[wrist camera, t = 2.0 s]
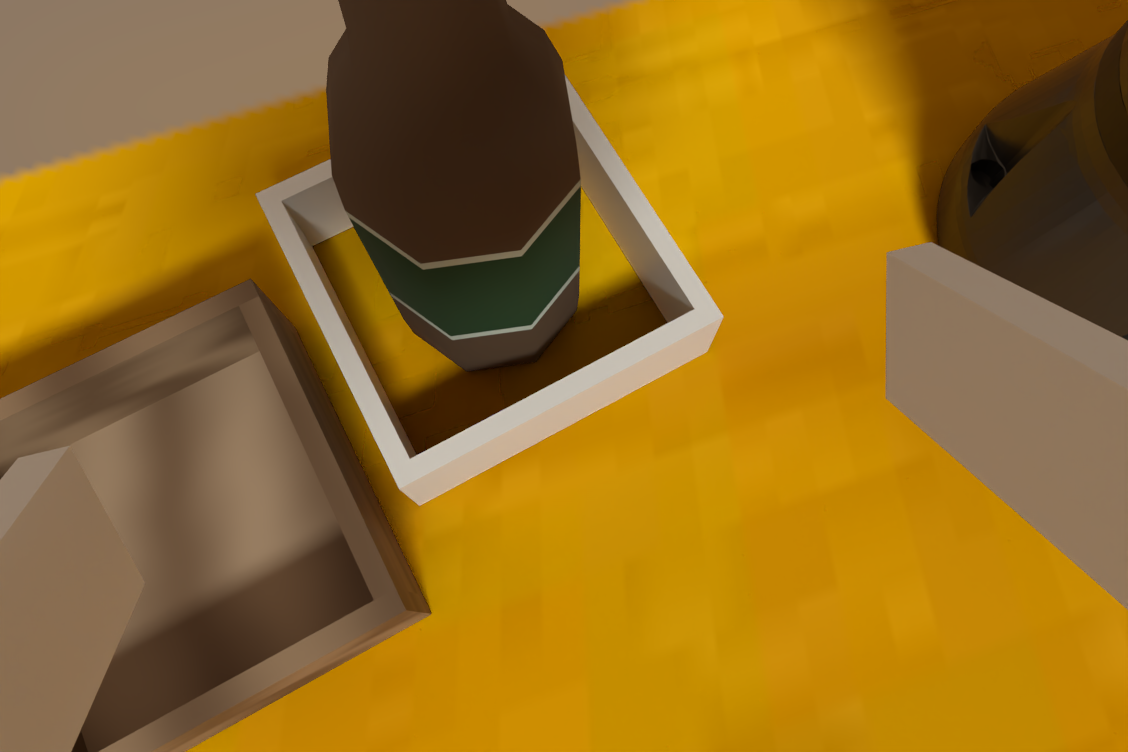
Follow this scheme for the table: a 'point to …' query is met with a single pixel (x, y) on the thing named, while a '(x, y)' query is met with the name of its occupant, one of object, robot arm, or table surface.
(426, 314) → the beer bottle
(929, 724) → the table surface
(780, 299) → the table surface
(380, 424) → the white corral
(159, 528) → the wooden bin
